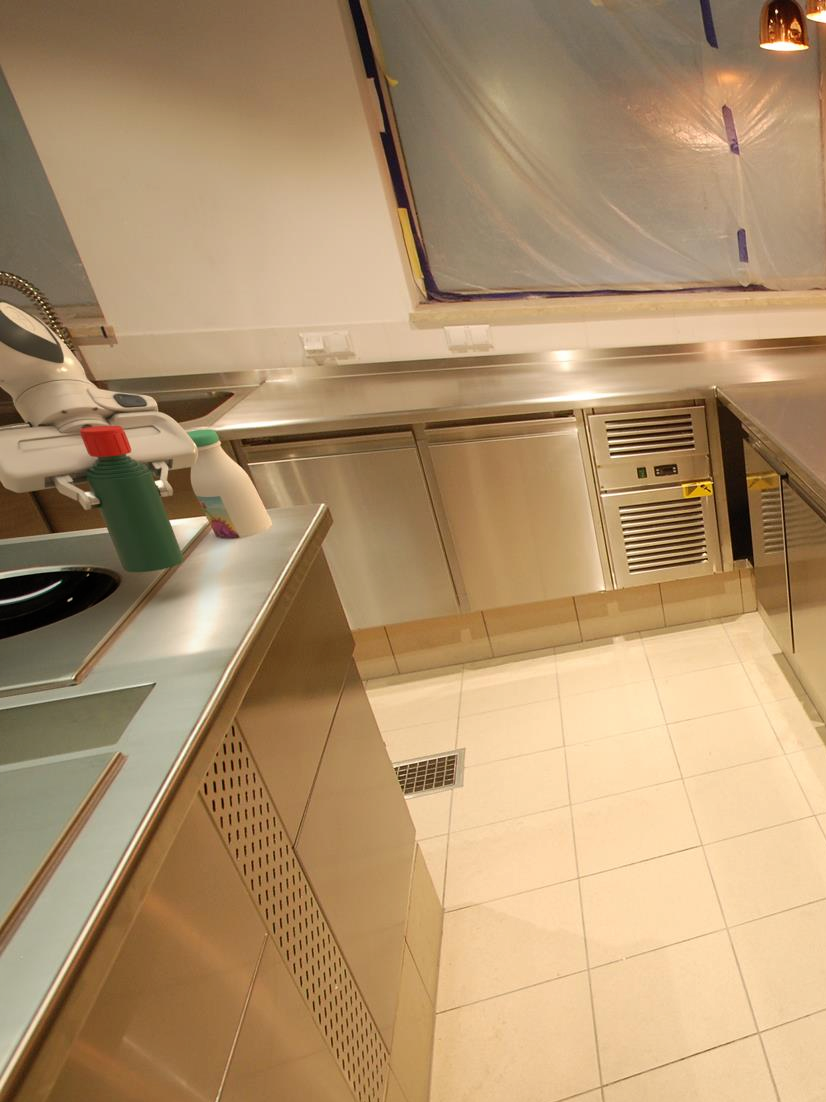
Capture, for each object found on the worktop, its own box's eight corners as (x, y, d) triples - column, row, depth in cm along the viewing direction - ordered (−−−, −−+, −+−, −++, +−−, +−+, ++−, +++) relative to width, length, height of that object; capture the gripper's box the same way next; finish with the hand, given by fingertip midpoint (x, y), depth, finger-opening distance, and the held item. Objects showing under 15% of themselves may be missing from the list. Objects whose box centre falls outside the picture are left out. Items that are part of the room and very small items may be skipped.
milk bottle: (276, 534, 147) (222, 422, 136) (285, 547, 142) (231, 432, 132) (222, 548, 142) (162, 433, 132) (229, 562, 138) (168, 444, 127)
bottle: (117, 575, 114) (61, 438, 106) (131, 560, 119) (77, 429, 111) (178, 568, 117) (127, 435, 109) (188, 554, 122) (141, 426, 114)
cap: (85, 458, 109) (74, 432, 108) (95, 451, 112) (85, 426, 111) (126, 455, 111) (117, 430, 109) (135, 449, 114) (126, 424, 113)
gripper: (-40, 414, 104) (25, 503, 104) (165, 394, 120) (221, 472, 120) (-35, 445, 108) (27, 531, 108) (163, 422, 124) (217, 497, 124)
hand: (131, 500), depth 114 cm, fingers closed on bottle, 6 cm apart
